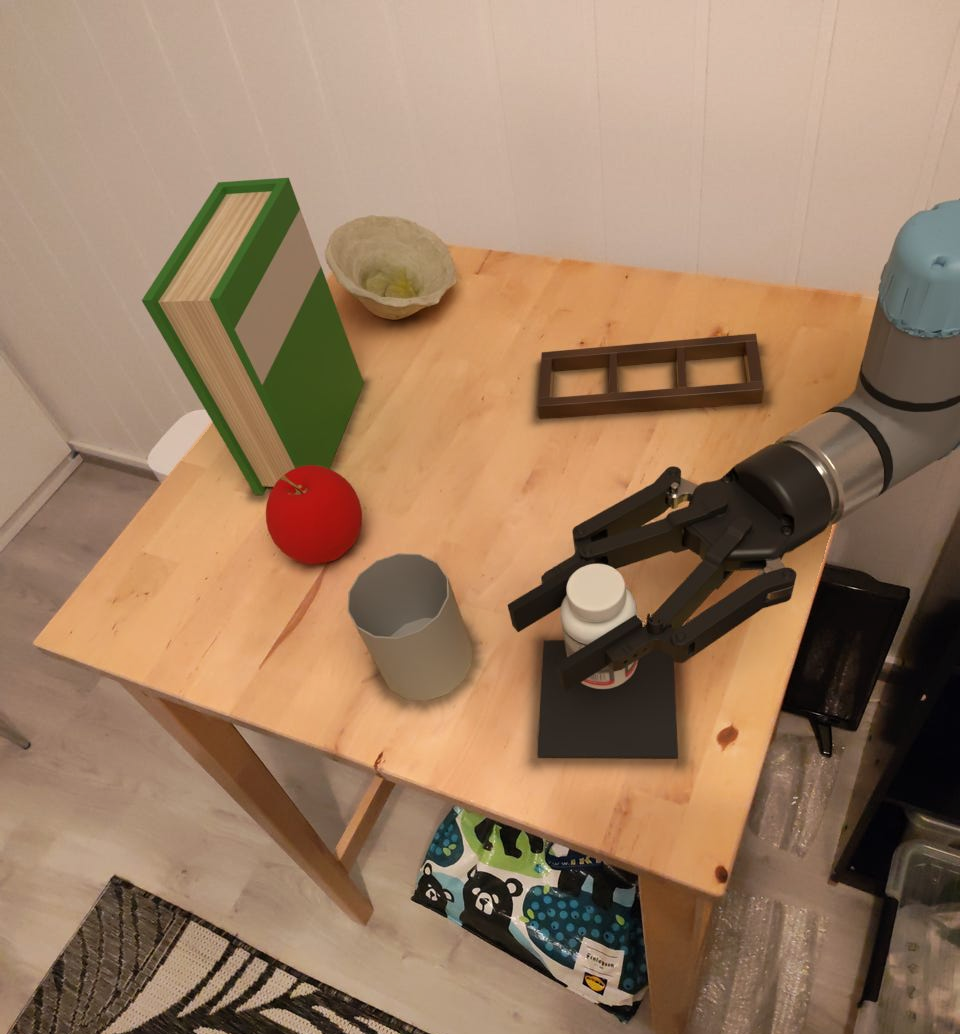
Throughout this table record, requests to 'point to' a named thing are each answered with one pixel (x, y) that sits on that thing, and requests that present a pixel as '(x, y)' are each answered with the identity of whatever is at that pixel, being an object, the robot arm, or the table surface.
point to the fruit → (313, 514)
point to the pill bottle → (596, 615)
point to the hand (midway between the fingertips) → (536, 647)
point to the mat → (609, 712)
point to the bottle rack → (651, 398)
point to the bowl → (390, 264)
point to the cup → (411, 625)
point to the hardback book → (258, 330)
